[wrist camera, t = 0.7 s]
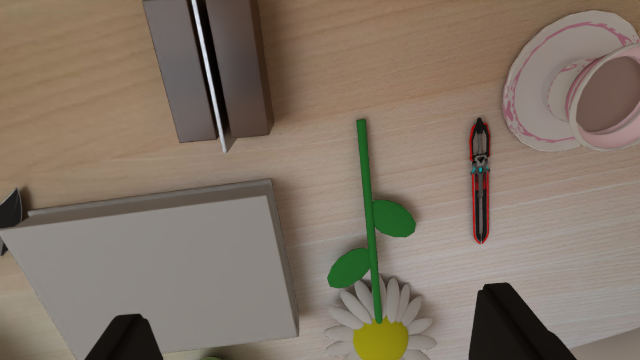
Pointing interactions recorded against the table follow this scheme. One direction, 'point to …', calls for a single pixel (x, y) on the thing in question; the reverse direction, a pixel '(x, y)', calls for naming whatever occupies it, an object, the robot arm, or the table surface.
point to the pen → (480, 180)
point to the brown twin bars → (233, 63)
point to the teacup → (577, 85)
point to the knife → (10, 215)
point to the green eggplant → (210, 358)
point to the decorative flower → (376, 289)
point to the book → (163, 266)
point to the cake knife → (213, 73)
